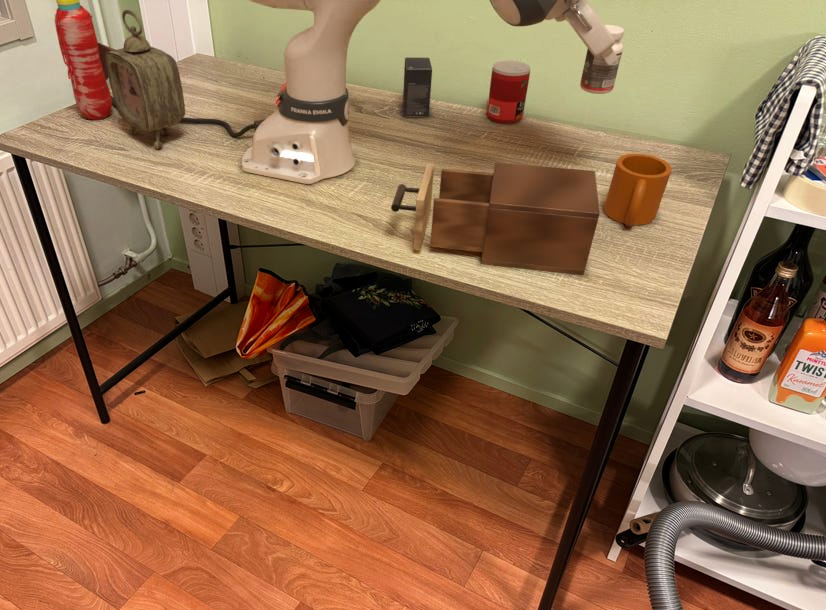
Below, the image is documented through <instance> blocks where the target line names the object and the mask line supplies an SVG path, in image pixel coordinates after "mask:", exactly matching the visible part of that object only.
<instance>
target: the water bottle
mask: <svg viewBox="0 0 826 610" xmlns="http://www.w3.org/2000/svg"><path fill="white" fill-rule="evenodd" d="M55 1H56V4H57V8H56V11H55V14H54V25H55V31H56V36H57V40H58V45H59V49H60V52H61V56H62V60H63V63H64V64H65V66H66V67H67V76H68V80H70V83H71V88H72V92H73V93H72V94H73V97H74V100H75V104H76V107H77V109H78V111H79V112H80V114H81V115H82V116H83V117H84V118H86V120H93V121H98V120H103V119H106V118H108V117H109V116H110V115H111V113H112V108H113V104H112V99H111V96H112V95H111V91H110V87H109V84H108V81H109V77H108V72H107V68H106V61H105V53H106V52H110V51H114V50H116V49H115V48H112V47H110V46H107V45H106V44H103V43H100V42H98V37H97V33H96V30H95V24H94V21H93V14H92V13H91V12H90V11H88V10H87V9H85V8H84V6H83V5H82V4H81V2H80V0H55Z"/></svg>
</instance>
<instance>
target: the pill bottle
mask: <svg viewBox="0 0 826 610" xmlns="http://www.w3.org/2000/svg"><path fill="white" fill-rule="evenodd" d="M604 25H605V27H606V28H607V29H608V31H609V32H610V34H611V35H612V36H613V38H614V40H615V44H614V45H613V46H612V49H613V51H614V52H615V54H616V55H617V57H618V59H617V60H616V61H615V62H614V63H613V64H612V65H608V64H607V63H606V61H605V60H604V59H603V58H602V57H601V56H600V57H599V58H596V57H594V56H593V55H592V53H591V52H590V51H589V49H588V48H587V50H586V54H585V59H584V64H583V69H582V72H581V73H582V74H581V77H580V81H579V86H580V89H581V90H583V91H584V92H587V93H590V94H595V95H604V94H609V93H611V92H612V91H613V90H614V87H615V83H616V79H617V76H618V70H619V67H620V63H621V58H622V56H623V55H622V54H623V50H624V46H623V43H622V42H621V40H622V39H623V37H624V33H625V29H624V28H623V27H622V26H619V25H615V24H614V25H613V24H604Z"/></svg>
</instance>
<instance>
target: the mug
mask: <svg viewBox="0 0 826 610" xmlns="http://www.w3.org/2000/svg"><path fill="white" fill-rule="evenodd" d="M672 169H673V168H672V166H671V165H670V163H668V162H667V161H665V160H664V159H662V158H660V157H658V156H654V155H651V154H645V153H627V154H624V155H620V156H619V157H618V158H617V160H616V163H615V167H614V170H613V173H612V177H611V180H610V184H609V187H608V191H607V195H606V197H605V203H604V205H603V212H604V214H605V215H606V216H607V217H609V218H610V219H612V220H614V221H615V222H618V223H621V224H625V226H626V227H630V228H631V227H632V226H643V225H648V224H650V223H652V222H653V221H654V220H656V218H657V214H658V212H659V208H660V205H661V203H662V200H663V197H664V194H665V191H666V187H667V186H668V182H669V180H670V176H671V174H672Z"/></svg>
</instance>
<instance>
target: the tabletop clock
mask: <svg viewBox="0 0 826 610" xmlns="http://www.w3.org/2000/svg"><path fill="white" fill-rule="evenodd" d="M127 14H128V15H129V16H132V17H133V18H134V19H135V21H136V22H137V24H138V26H139V27H138V28H139V30H138V31H137V27H136V26H135V25H132V26H129V25H128V24H127V22H126V15H127ZM121 17H122V18H121V19H122V23H123V25H124V27H125V28H126V30H127V31H128V32H129V33H130V34H131V35H130V36H128V37H126V38H125V40H124V41H123V47H122V48H119V49H115V50H114V51H110V52H106V53H105V61H106V68H107V72H108V77H109V78H108V81H109V86H110V89H111V93H112V97H113V99H114V101H115V104H116V107H117V108H116V107H115V108H116V109H117V112H118V115H119V116H120V117H121V118H122V120H124V121H125V122H126V123H127V124H128V125H130V126H129V127H128V132H129V133H130V134H136V133H137V131H140V132H143V133H144V134H145V133H150V132H153V131H154V133H155V141H154V143H153V147H154V148H155V149H157V150H161V149H162V148H163V144H162V142H161V141H160V134H161V135H162V136H167V135H168V134H169V129H168V128H167V127H168V126H171V125H172V126H173V125H175V124H178V123H181V122H180V121H181V120H182V118H185V116H186V104H185V98H184V91H183V86H182V80H181V75H180V69H179V67H178V64H177V61H176V59H175V58H174V57H173V56H172V55H170V54H169V53H167V52H165V51H163V50H162V49H158V48H157V47H153V46H151V45H150V42H149V41H148V40H147V38H145V36H143V35H142V33H143V26H142V22H141V20H140V18H139V16H138V15H137V14H136V13H135V12H133V11H132V10H130V9H124V10H123V11H122V14H121Z"/></svg>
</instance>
